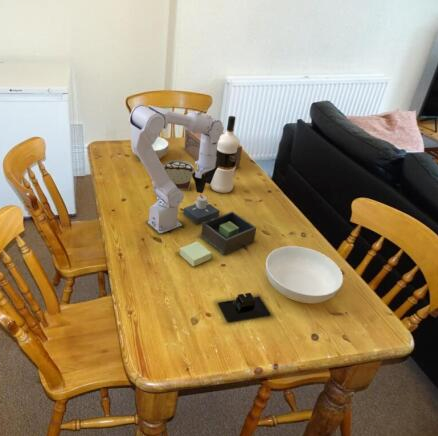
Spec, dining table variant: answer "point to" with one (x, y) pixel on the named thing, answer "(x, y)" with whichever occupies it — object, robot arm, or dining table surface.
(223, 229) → the cube
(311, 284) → the serving bowl
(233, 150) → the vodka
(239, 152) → the tissue box cover
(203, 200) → the dial knob
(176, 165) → the food container
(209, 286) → the dining table surface
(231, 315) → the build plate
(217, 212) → the rotary dial base
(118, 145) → the dining table surface
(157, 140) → the cereal bowl
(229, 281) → the dining table surface
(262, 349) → the dining table surface
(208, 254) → the mint block
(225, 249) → the black storage bin
